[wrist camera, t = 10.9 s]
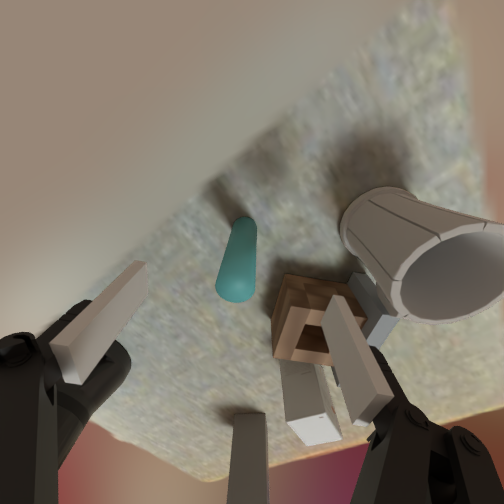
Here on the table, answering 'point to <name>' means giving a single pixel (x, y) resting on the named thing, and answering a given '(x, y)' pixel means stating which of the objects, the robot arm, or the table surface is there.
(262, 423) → the perfume bottle
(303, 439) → the small box
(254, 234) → the dowel
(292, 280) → the block
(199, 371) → the table surface
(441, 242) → the cup
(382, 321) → the wall
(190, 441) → the table surface
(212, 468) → the table surface
